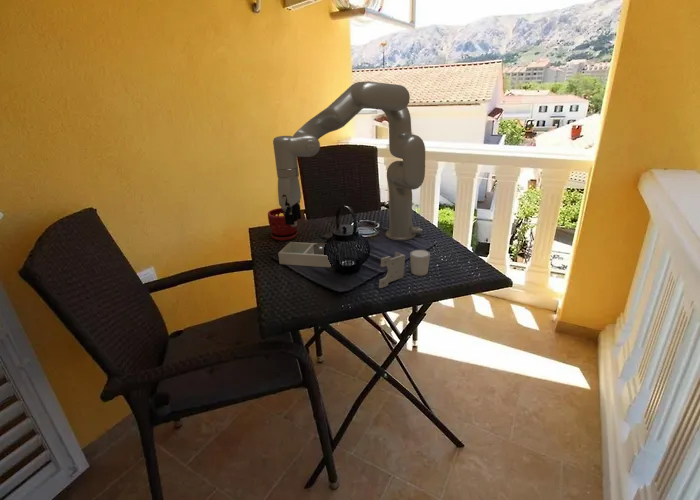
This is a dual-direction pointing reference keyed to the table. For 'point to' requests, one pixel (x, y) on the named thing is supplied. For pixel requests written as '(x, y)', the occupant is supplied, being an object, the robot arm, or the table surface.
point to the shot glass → (419, 262)
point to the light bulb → (295, 213)
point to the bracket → (392, 268)
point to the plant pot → (281, 226)
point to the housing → (304, 254)
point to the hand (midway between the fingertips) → (293, 220)
